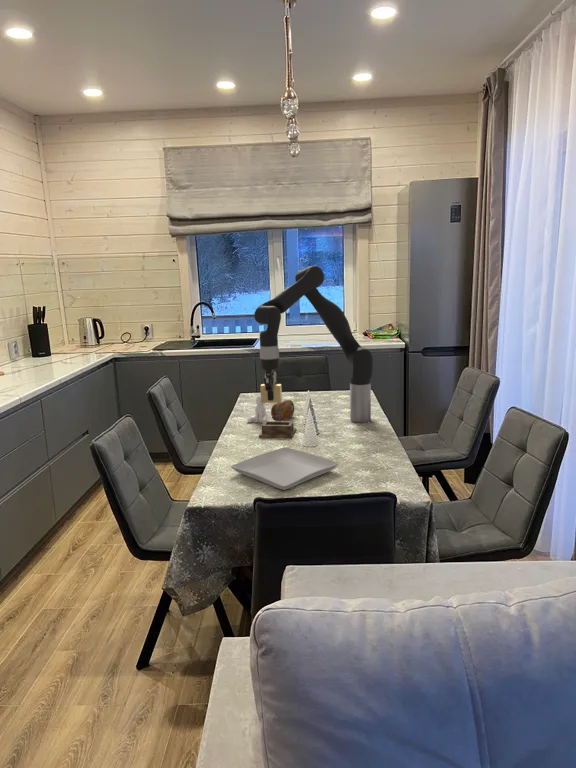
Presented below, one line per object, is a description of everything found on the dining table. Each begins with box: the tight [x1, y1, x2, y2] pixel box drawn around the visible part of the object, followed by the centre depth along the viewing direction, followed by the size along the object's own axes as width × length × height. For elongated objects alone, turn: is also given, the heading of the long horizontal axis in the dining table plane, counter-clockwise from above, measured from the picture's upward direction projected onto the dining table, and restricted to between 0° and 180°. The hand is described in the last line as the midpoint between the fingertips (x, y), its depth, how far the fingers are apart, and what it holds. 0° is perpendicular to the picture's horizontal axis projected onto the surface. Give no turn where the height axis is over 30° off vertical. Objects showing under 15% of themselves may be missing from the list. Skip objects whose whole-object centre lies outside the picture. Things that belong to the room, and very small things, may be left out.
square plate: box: [230, 446, 340, 491], centre depth 194 cm, size 27×27×4 cm
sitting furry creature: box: [246, 395, 268, 424], centre depth 258 cm, size 10×9×12 cm
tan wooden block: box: [260, 383, 283, 404], centre depth 224 cm, size 8×3×7 cm, turn 80°
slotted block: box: [258, 420, 297, 439], centre depth 239 cm, size 14×12×4 cm
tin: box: [270, 399, 295, 421], centre depth 261 cm, size 15×3×8 cm, turn 143°
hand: (271, 399), depth 225 cm, fingers closed on tan wooden block, 3 cm apart
